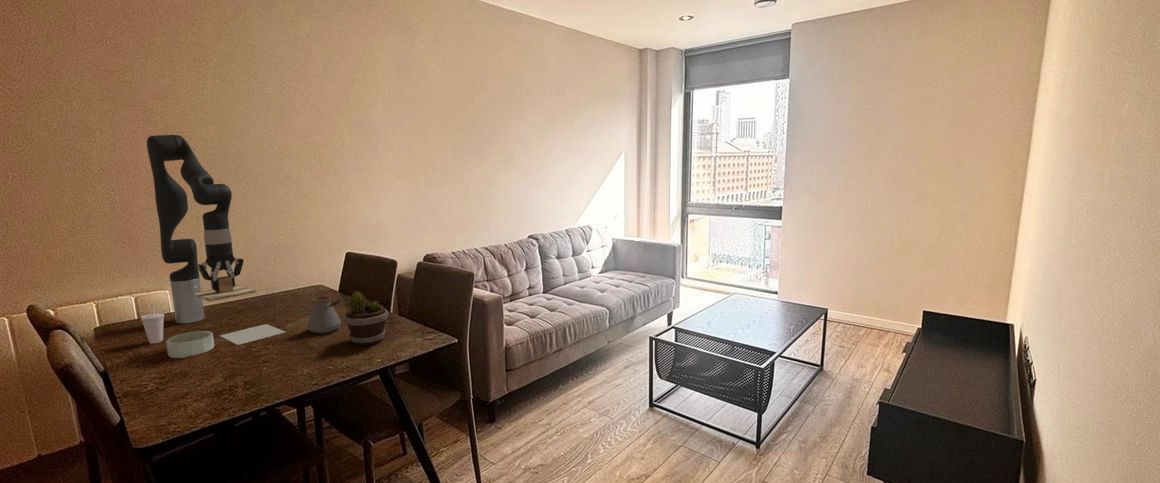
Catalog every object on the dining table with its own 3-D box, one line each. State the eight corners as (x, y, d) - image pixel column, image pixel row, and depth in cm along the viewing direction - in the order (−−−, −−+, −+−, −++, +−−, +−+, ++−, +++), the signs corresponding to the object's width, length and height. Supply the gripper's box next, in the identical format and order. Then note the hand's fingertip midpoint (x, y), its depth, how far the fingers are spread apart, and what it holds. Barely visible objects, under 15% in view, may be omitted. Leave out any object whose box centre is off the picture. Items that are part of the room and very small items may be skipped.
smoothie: (154, 345, 171) (148, 307, 169) (139, 344, 173) (133, 306, 170) (172, 339, 178) (167, 302, 175) (158, 337, 179) (152, 300, 177)
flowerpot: (371, 331, 187) (368, 280, 184) (398, 338, 179) (395, 285, 176) (336, 343, 174) (331, 288, 171) (363, 351, 167) (359, 294, 164)
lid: (192, 295, 171) (190, 279, 170) (237, 286, 183) (236, 271, 182) (210, 301, 164) (208, 284, 163) (255, 292, 175) (254, 276, 174)
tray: (219, 336, 180) (219, 335, 180) (266, 325, 193) (266, 324, 193) (238, 345, 171) (237, 344, 171) (286, 333, 184) (286, 332, 184)
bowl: (163, 352, 165) (161, 338, 164) (205, 342, 175) (204, 328, 174) (176, 360, 158) (174, 346, 158) (219, 349, 168) (217, 335, 167)
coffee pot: (302, 331, 186) (299, 293, 184) (333, 324, 195) (330, 287, 192) (326, 345, 172) (322, 304, 170) (358, 336, 181) (355, 297, 179)
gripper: (236, 238, 178) (241, 284, 181) (189, 243, 166) (195, 292, 169) (246, 240, 174) (251, 286, 177) (198, 245, 162) (204, 295, 165)
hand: (223, 289), depth 173 cm, fingers closed on lid, 4 cm apart
